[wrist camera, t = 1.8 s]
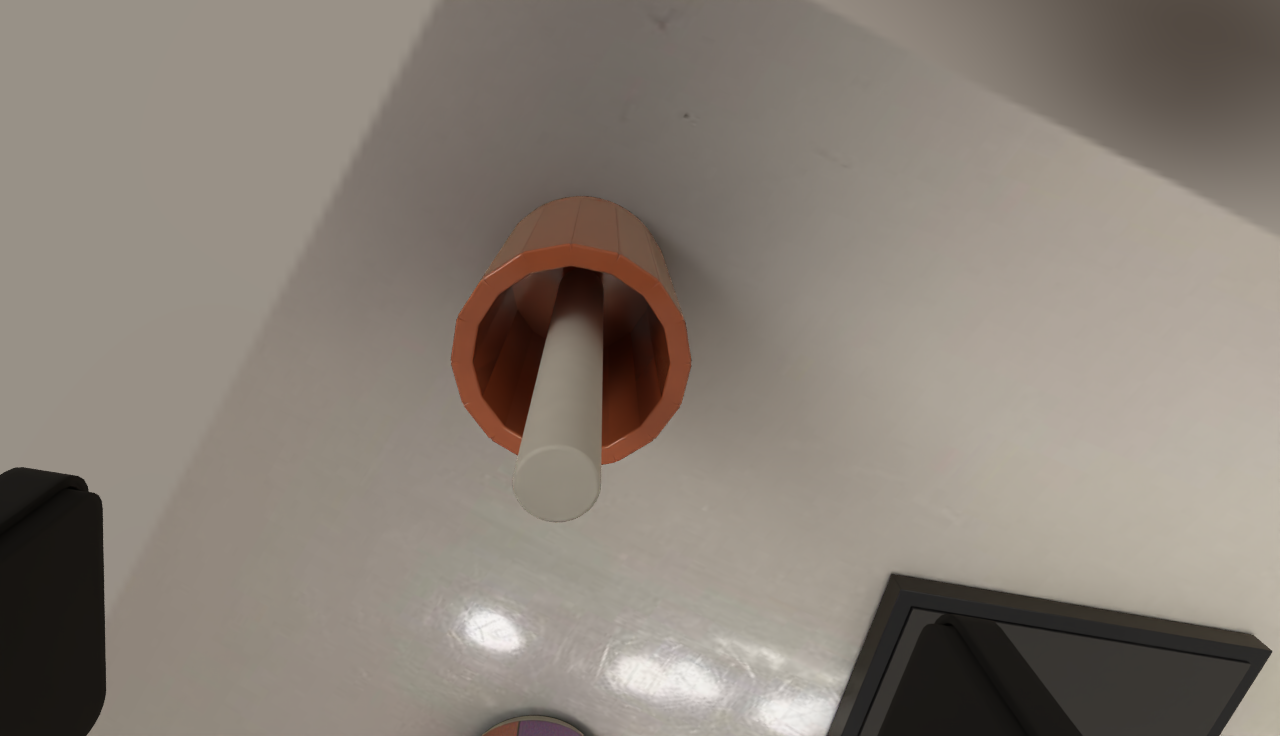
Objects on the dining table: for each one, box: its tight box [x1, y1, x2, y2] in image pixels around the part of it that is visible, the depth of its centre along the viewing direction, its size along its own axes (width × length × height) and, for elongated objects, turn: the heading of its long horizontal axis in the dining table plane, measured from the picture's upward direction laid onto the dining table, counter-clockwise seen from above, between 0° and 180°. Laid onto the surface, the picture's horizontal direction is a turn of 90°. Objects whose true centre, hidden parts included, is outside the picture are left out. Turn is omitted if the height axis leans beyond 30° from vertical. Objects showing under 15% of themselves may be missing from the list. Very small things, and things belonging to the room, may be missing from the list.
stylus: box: [513, 269, 604, 522], centre depth 18 cm, size 1×1×13 cm
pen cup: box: [451, 196, 692, 465], centre depth 21 cm, size 5×5×8 cm
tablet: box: [827, 574, 1272, 736], centre depth 32 cm, size 12×16×1 cm
